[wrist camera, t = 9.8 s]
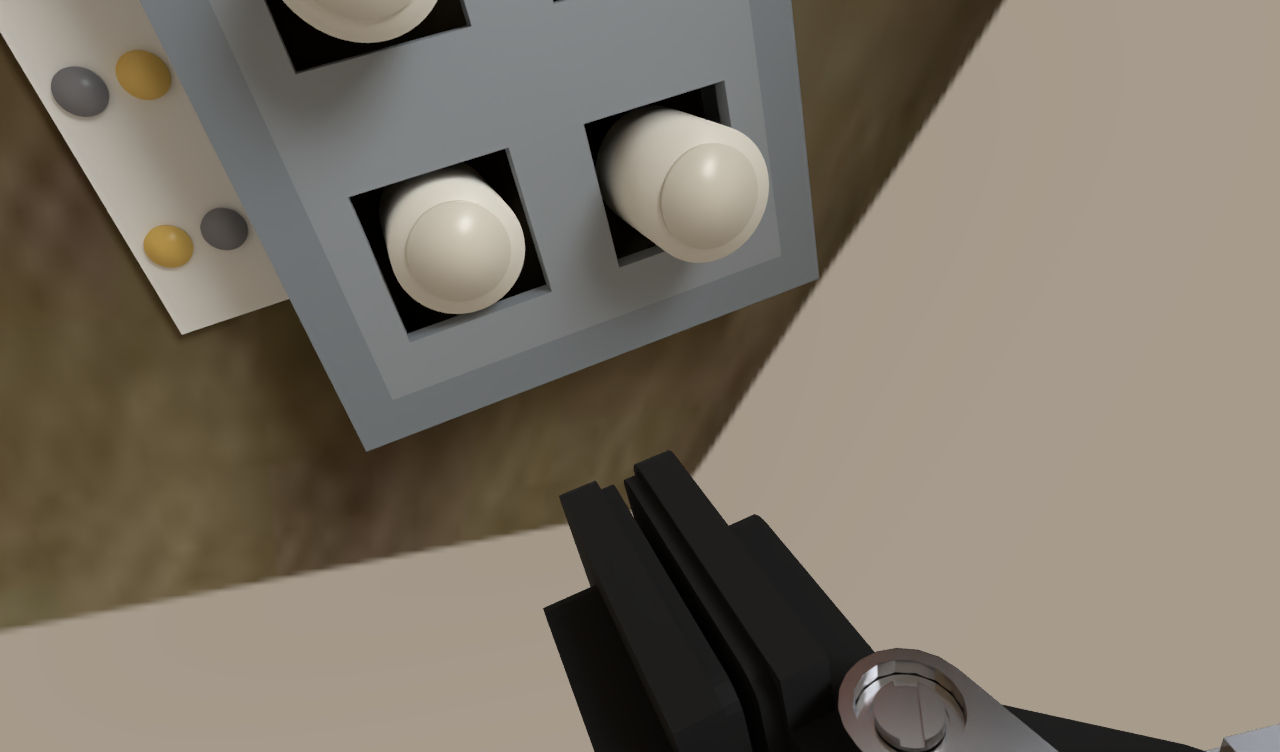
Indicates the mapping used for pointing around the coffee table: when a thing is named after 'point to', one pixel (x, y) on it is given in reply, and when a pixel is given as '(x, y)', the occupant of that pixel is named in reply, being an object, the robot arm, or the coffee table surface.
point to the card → (144, 153)
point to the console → (541, 166)
